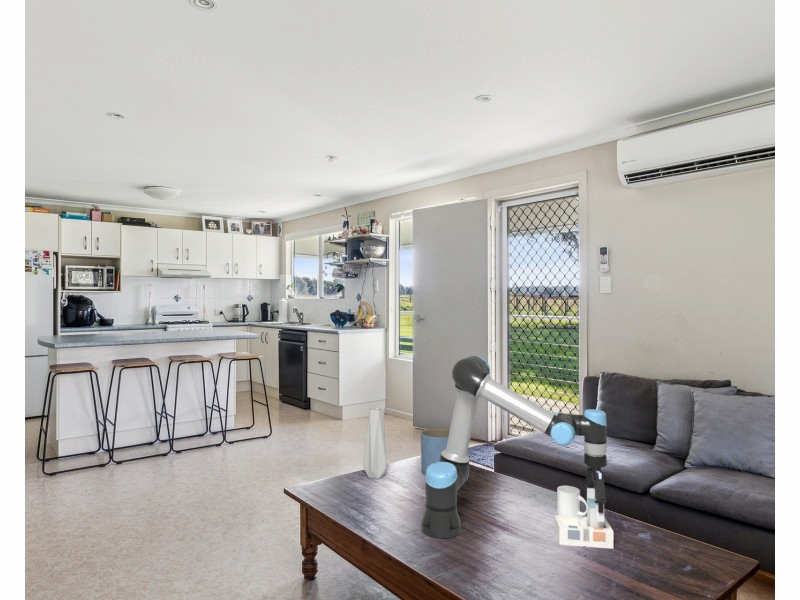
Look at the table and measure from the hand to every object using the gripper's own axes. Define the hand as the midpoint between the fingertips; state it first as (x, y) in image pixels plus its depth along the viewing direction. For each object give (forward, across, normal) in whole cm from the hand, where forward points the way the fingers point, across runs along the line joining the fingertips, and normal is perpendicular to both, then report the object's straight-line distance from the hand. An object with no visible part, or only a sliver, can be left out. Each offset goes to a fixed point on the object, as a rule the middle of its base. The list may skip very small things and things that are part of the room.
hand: (595, 513), depth 180 cm
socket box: (+10, 0, +4) cm, 11 cm away
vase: (+10, +53, +90) cm, 105 cm away
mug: (+10, +19, +4) cm, 22 cm away
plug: (+8, 0, 0) cm, 8 cm away
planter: (+10, +64, +60) cm, 88 cm away
